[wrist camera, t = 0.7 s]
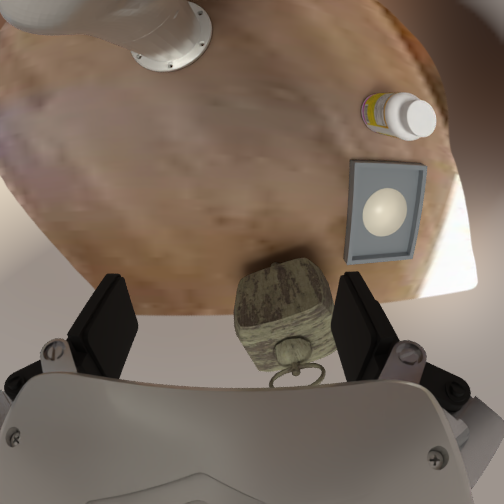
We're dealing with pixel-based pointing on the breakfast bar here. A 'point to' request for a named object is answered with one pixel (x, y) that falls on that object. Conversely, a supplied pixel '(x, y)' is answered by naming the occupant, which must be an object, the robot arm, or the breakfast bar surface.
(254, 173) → the breakfast bar surface
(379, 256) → the tray
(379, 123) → the supplement bottle
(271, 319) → the tabletop clock
